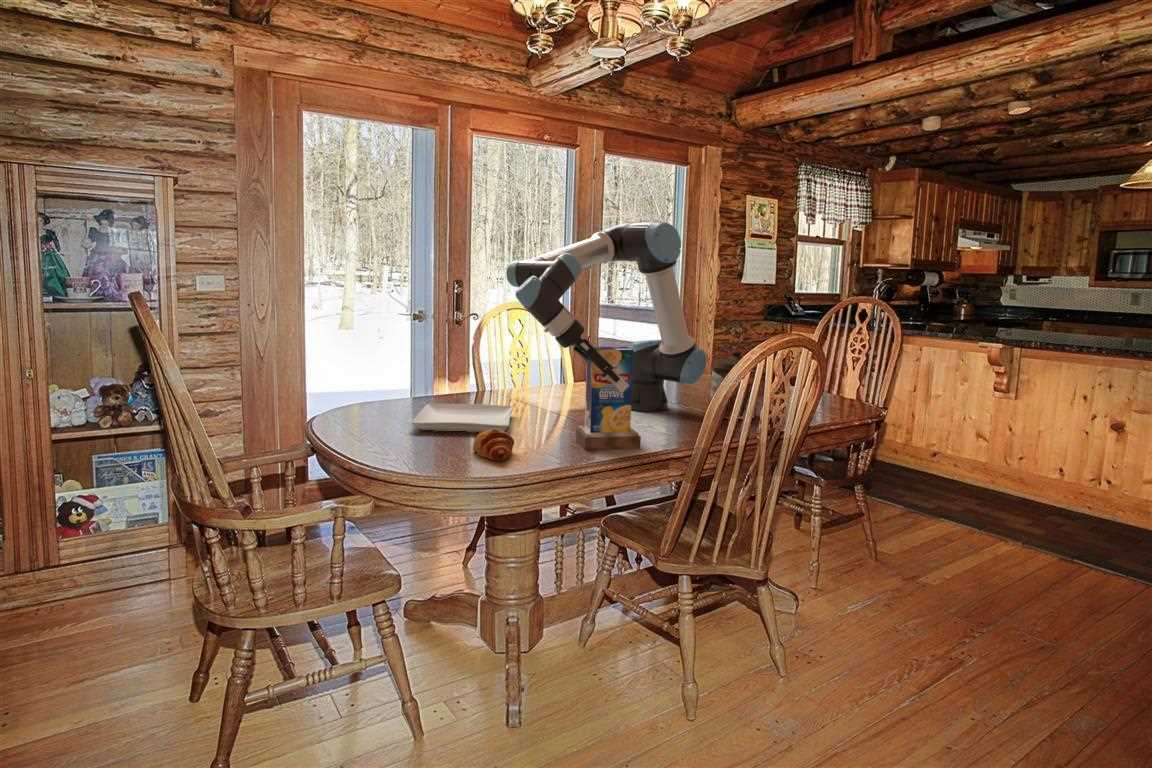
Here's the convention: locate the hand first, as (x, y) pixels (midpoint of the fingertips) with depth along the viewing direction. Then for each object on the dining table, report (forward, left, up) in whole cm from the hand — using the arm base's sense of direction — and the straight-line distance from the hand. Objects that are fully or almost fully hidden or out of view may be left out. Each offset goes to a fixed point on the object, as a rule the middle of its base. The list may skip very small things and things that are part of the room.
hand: (618, 384), depth 191 cm
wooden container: (-49, -32, -16) cm, 61 cm away
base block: (+2, 0, -16) cm, 16 cm away
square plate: (+38, -28, -17) cm, 50 cm away
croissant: (+34, +6, -17) cm, 38 cm away
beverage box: (+3, 0, -12) cm, 13 cm away
